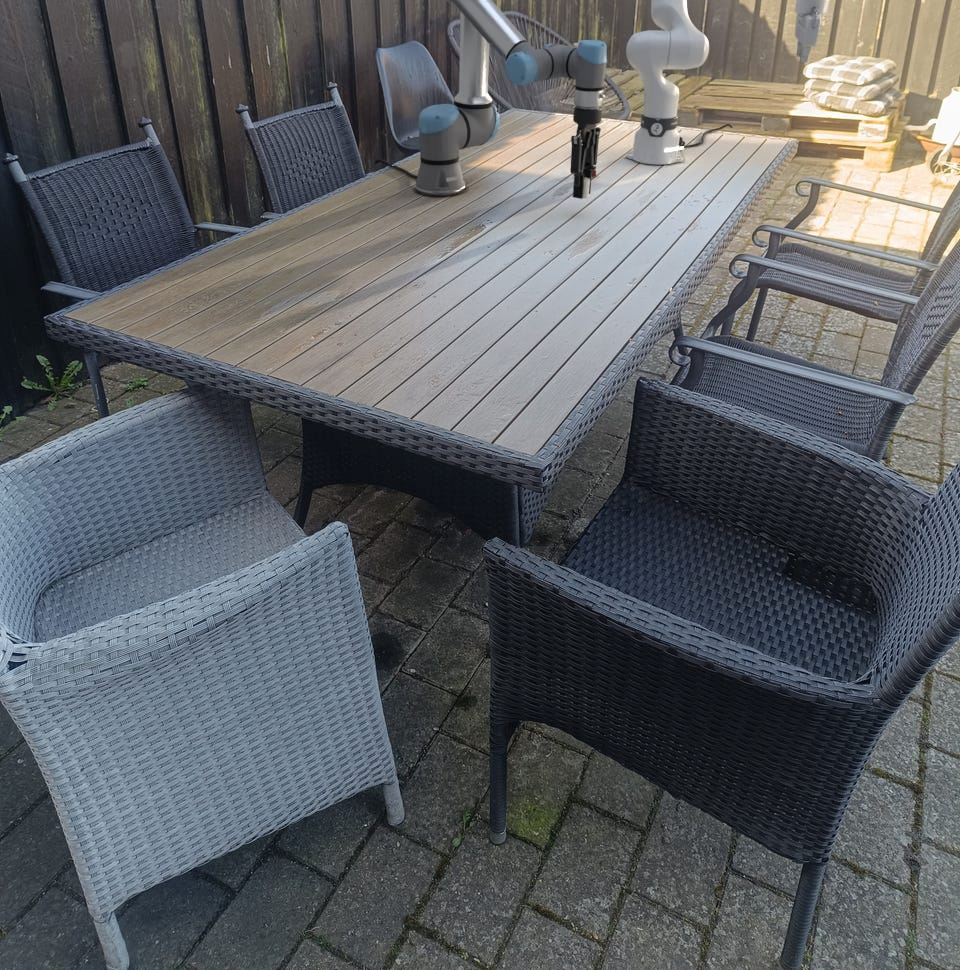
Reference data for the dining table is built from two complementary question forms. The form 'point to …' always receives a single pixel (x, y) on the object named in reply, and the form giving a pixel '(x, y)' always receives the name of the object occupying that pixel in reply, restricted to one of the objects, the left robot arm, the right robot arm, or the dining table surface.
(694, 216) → the dining table surface
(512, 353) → the dining table surface
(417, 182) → the left robot arm
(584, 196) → the can
